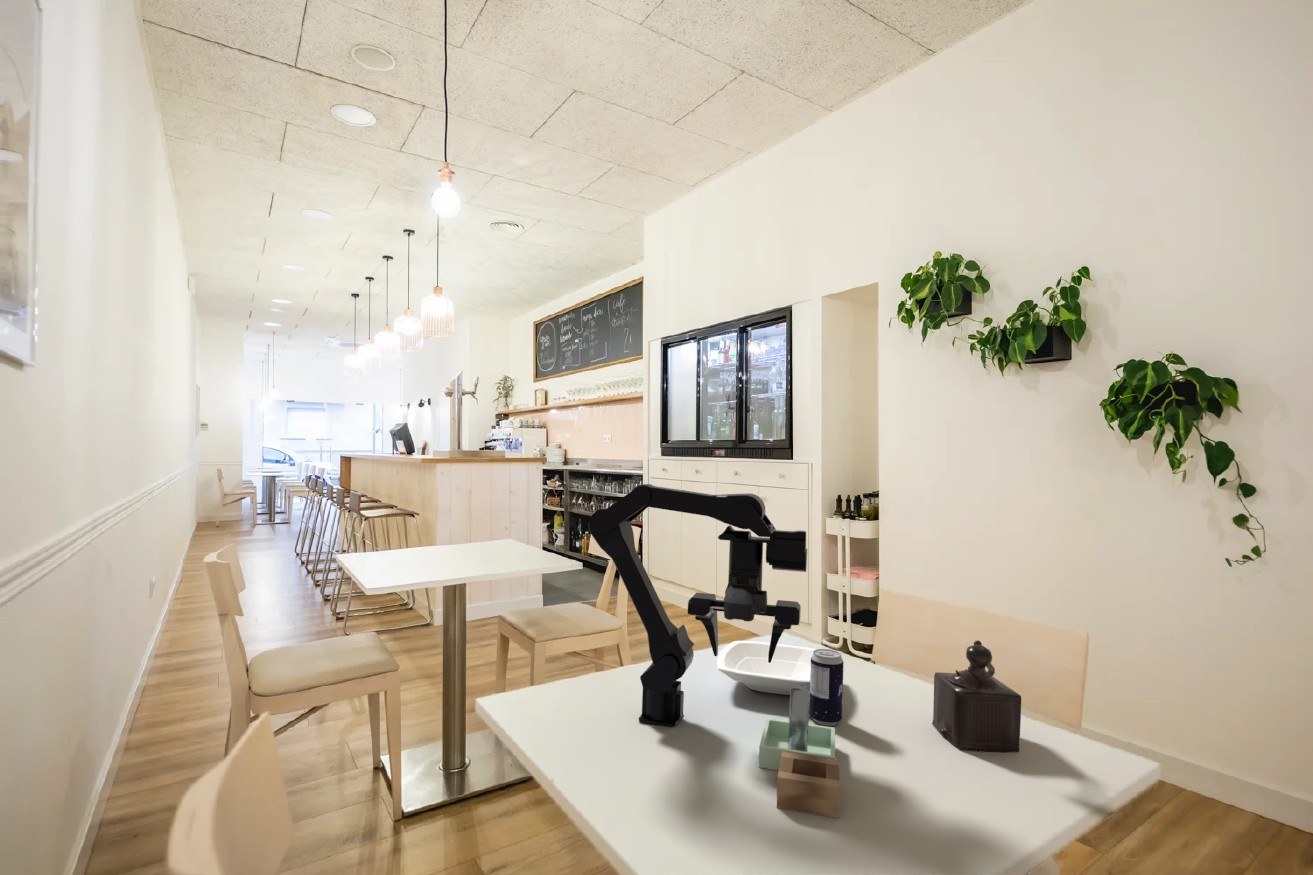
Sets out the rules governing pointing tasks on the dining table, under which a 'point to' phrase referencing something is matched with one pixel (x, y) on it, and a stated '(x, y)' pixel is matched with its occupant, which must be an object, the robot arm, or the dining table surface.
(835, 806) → the brown square sleeve
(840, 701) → the beverage can
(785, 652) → the bowl
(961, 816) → the dining table surface
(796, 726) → the cylinder
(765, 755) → the tray
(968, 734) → the dark brown ornamental box
